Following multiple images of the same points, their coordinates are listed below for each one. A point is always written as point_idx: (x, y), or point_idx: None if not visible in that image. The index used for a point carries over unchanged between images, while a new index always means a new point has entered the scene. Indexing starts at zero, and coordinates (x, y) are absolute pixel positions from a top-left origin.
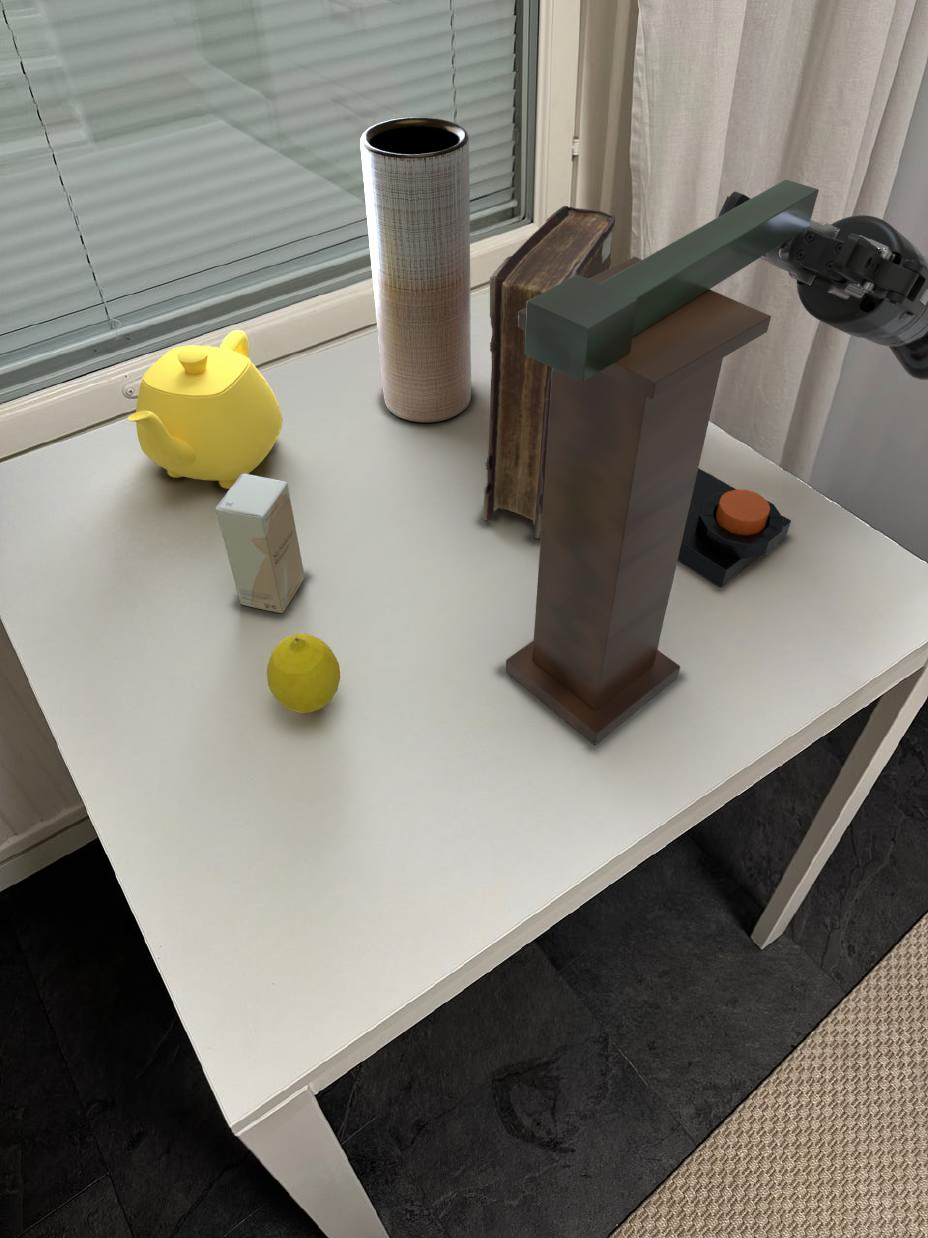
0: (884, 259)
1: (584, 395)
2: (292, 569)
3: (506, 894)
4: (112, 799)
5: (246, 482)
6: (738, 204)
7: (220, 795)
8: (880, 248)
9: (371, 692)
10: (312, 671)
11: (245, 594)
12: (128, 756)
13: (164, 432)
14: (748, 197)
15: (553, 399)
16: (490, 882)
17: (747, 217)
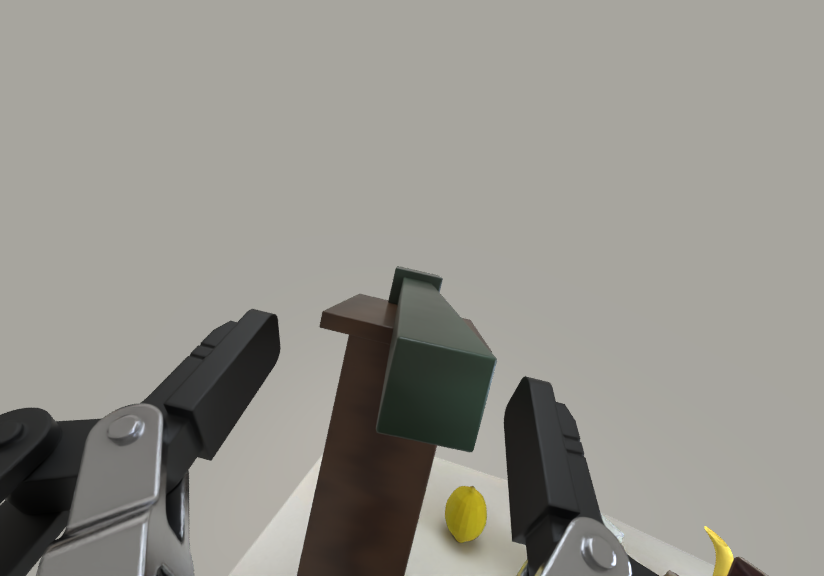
0: (147, 398)
1: None
2: None
3: (301, 501)
4: (465, 470)
5: (609, 526)
6: (519, 391)
7: (439, 486)
8: (156, 409)
9: (444, 564)
10: (455, 492)
11: None
12: (481, 483)
13: (720, 568)
14: (530, 399)
15: None
16: (311, 503)
17: (424, 303)
